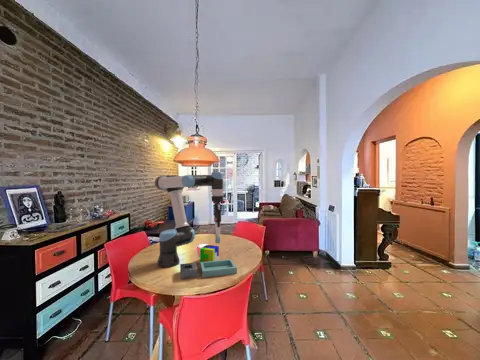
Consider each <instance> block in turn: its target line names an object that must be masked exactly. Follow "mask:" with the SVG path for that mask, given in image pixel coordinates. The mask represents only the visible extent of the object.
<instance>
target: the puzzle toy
mask: <svg viewBox="0 0 480 360" xmlns="http://www.w3.org/2000/svg"><path fill="white" fill-rule="evenodd" d="M219 255H220V248H219V245H218V246H217V245H210V244H205V245H204V246H203V247H201V248H200V249H199V257H200V258H199V260H200V262H208V261H218V260H220V256H219ZM200 262H199V263H200Z"/></svg>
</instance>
